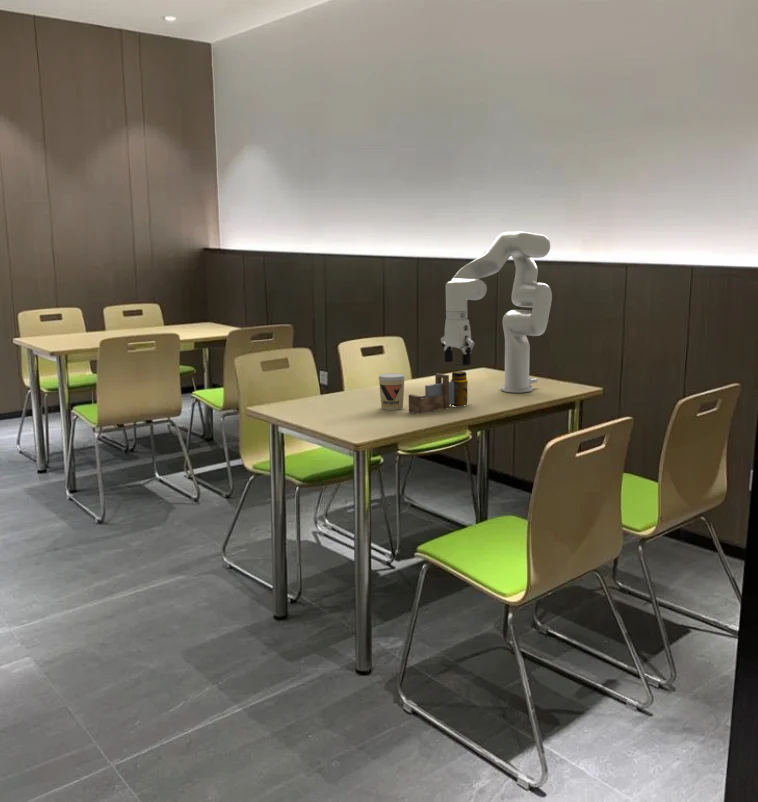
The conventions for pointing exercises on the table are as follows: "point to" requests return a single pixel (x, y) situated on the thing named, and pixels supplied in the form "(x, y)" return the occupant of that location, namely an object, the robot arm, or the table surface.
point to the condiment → (460, 388)
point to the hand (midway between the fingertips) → (457, 363)
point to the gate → (439, 391)
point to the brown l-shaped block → (431, 398)
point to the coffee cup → (391, 390)
